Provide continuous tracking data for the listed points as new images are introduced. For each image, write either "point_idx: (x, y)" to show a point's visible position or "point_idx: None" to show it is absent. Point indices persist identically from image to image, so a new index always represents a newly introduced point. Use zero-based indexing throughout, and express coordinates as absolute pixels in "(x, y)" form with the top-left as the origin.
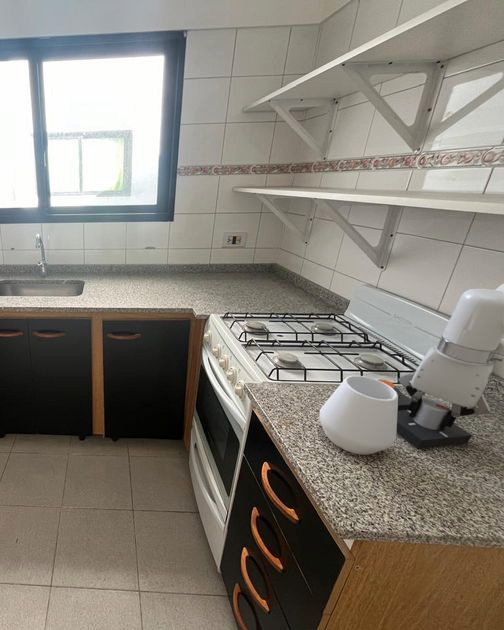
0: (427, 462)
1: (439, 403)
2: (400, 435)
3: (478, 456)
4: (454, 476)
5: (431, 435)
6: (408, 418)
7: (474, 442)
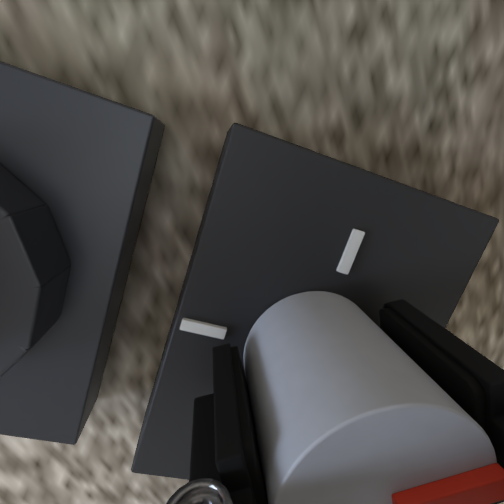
0: None
1: (405, 447)
2: None
3: (492, 264)
4: None
5: None
6: None
7: (465, 154)
